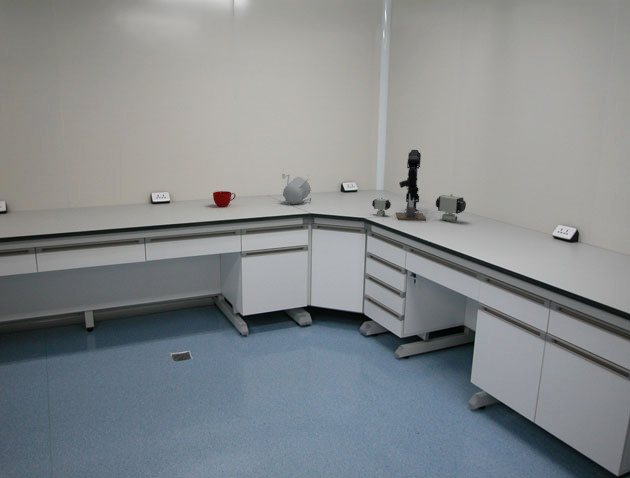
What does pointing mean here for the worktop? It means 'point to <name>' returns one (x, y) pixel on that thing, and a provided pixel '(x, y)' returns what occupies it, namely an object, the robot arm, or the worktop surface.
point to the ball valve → (450, 206)
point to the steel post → (411, 202)
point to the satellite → (296, 190)
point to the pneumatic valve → (381, 206)
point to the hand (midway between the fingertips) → (411, 199)
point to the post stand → (410, 215)
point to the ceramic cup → (222, 198)
